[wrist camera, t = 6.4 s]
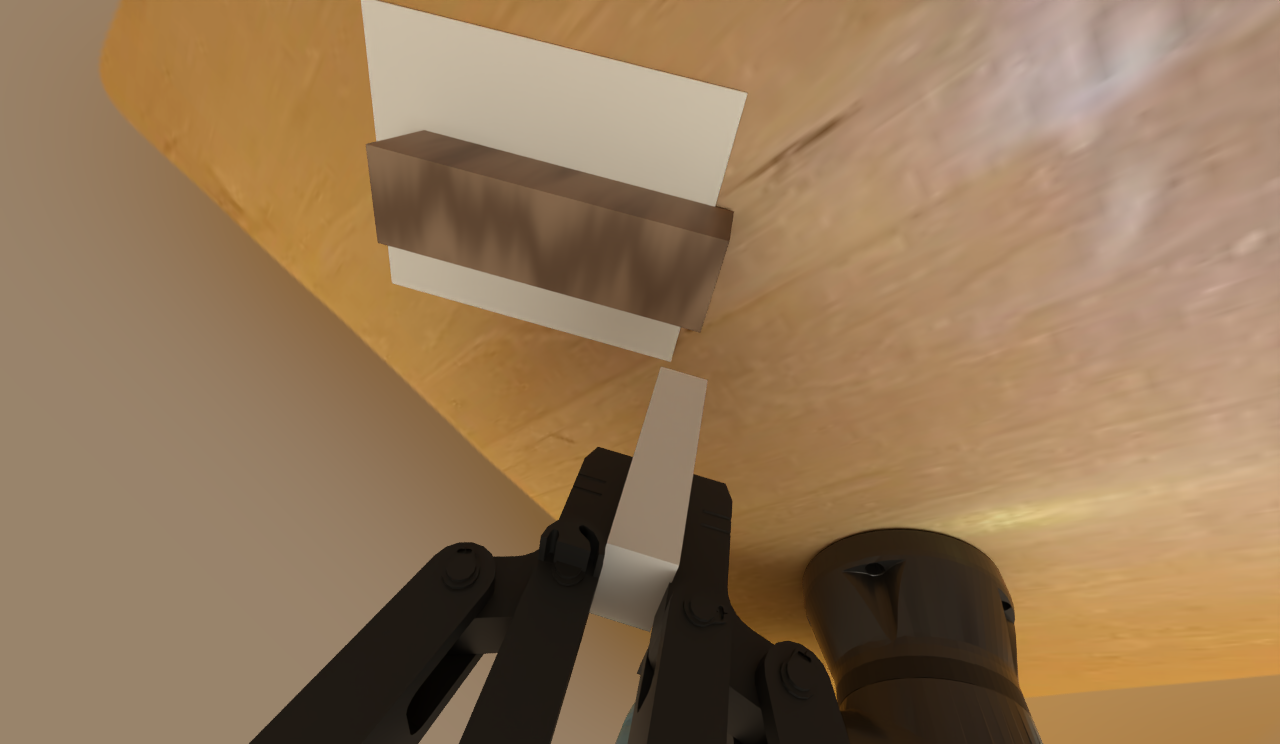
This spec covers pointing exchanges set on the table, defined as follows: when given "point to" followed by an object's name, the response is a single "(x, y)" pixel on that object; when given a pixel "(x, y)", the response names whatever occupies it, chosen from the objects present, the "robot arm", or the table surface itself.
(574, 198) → the walnut block
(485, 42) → the mat
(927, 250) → the table surface
